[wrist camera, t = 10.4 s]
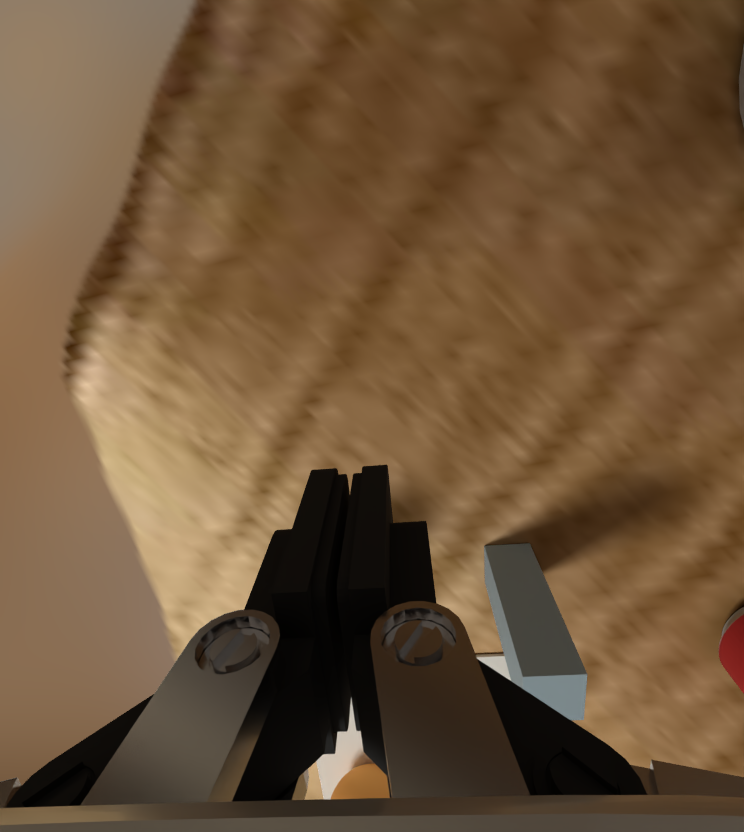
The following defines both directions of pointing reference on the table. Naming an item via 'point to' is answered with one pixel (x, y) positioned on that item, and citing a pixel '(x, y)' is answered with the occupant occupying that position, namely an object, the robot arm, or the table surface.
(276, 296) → the table surface
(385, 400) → the table surface
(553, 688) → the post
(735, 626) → the beverage can
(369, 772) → the ball
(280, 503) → the table surface
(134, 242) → the table surface
